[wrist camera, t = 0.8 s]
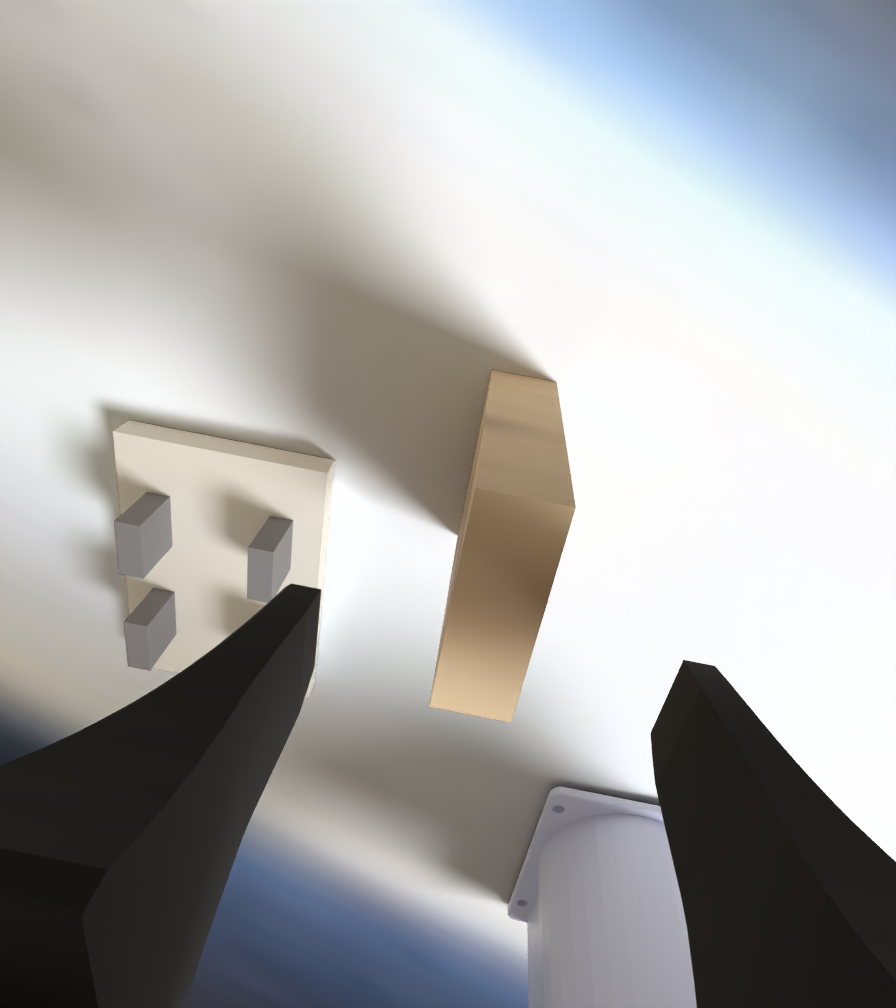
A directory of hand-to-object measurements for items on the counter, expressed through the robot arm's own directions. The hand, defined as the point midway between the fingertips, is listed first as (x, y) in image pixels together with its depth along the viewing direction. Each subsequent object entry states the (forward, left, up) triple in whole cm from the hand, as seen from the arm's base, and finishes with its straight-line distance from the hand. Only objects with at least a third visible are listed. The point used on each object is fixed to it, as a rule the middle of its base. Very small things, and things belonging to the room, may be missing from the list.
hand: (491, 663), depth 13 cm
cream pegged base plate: (-6, +9, -10) cm, 14 cm away
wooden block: (0, 0, -10) cm, 10 cm away
